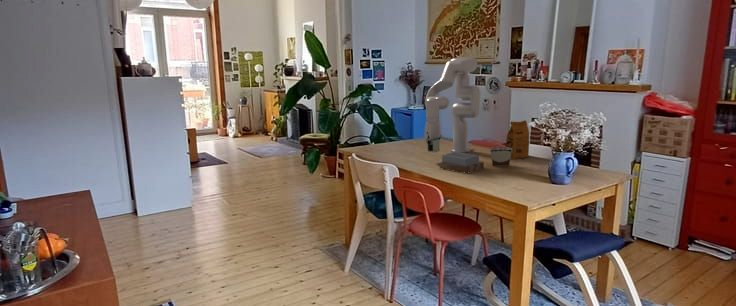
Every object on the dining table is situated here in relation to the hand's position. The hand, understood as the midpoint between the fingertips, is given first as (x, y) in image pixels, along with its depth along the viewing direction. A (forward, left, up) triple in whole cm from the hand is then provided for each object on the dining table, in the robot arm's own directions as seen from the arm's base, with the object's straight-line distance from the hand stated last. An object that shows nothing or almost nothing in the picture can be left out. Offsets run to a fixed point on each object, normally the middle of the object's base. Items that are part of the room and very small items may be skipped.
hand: (433, 149), depth 281 cm
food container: (-17, +34, -8) cm, 39 cm away
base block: (+3, +22, -8) cm, 24 cm away
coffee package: (-41, +31, -8) cm, 52 cm away
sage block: (0, 0, -1) cm, 1 cm away
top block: (+3, +22, -4) cm, 22 cm away
